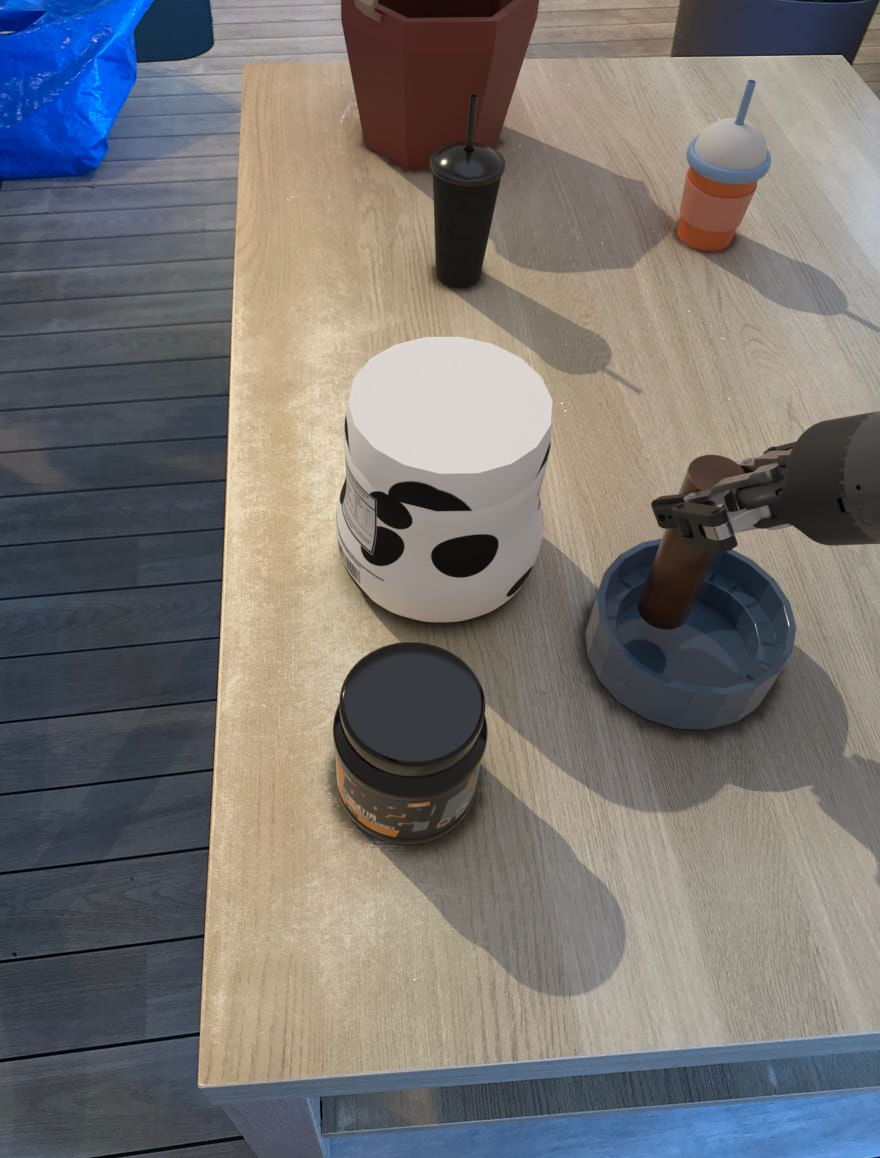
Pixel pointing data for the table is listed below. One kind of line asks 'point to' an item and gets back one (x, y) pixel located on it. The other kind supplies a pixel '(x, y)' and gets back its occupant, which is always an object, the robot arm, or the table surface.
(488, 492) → the milk container
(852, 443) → the robot arm
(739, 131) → the cup with straw
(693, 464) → the brown cylinder
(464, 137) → the bucket
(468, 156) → the drinking cup
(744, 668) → the bowl
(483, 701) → the supplement container
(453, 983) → the table surface
